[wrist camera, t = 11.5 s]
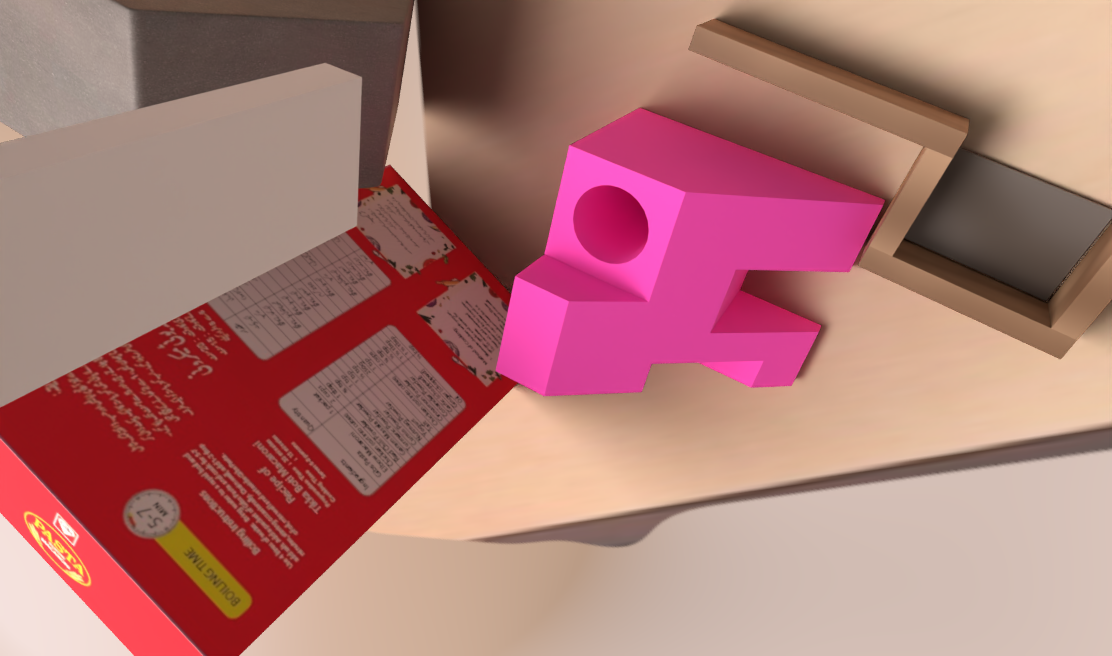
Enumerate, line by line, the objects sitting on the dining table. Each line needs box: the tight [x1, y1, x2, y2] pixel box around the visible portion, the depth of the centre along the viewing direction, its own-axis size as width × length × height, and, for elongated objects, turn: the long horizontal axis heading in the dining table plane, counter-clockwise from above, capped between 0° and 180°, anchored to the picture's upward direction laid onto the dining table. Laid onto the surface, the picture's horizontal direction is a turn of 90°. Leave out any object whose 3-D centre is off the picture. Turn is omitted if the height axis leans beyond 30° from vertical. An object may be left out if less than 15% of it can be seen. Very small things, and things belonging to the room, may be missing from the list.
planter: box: [0, 0, 414, 189], centre depth 35 cm, size 17×8×21 cm
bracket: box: [496, 108, 885, 396], centre depth 33 cm, size 12×10×10 cm
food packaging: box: [0, 165, 518, 656], centre depth 37 cm, size 15×5×25 cm, turn 50°
